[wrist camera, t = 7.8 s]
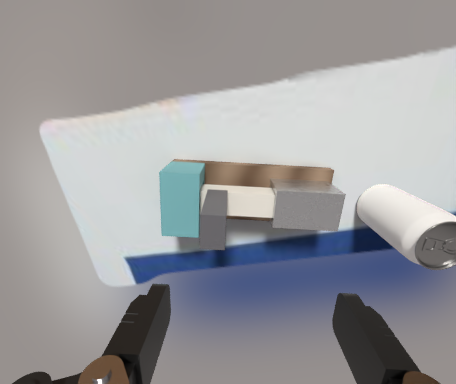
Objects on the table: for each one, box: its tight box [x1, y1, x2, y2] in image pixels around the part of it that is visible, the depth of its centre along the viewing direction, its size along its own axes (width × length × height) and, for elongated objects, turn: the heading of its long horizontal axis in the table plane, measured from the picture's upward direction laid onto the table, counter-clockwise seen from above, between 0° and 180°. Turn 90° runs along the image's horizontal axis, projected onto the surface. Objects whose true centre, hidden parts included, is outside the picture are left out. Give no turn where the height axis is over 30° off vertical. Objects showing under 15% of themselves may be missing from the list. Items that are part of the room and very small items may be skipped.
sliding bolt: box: [200, 184, 276, 250], centre depth 28 cm, size 14×4×10 cm, turn 87°
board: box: [173, 159, 334, 221], centre depth 35 cm, size 22×8×2 cm, turn 87°
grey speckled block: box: [269, 178, 346, 231], centre depth 32 cm, size 8×5×5 cm, turn 87°
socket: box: [159, 161, 205, 238], centre depth 31 cm, size 4×8×6 cm, turn 177°
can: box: [357, 184, 456, 270], centre depth 31 cm, size 6×6×12 cm
